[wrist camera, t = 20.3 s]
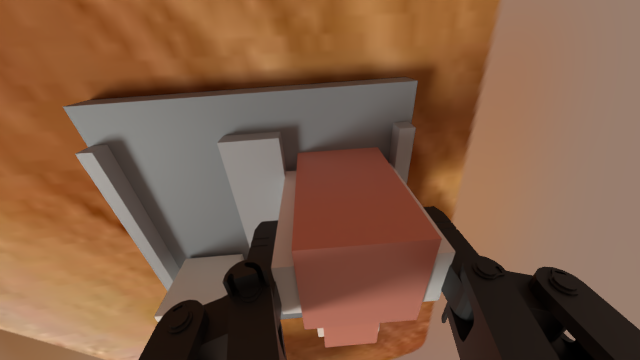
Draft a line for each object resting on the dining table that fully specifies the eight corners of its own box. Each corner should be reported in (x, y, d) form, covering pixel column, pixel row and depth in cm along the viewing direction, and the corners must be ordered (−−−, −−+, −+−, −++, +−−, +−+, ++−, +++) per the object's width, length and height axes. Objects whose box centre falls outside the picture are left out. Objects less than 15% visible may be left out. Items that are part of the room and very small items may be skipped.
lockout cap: (304, 215, 15) (304, 329, 9) (297, 152, 13) (291, 250, 7) (372, 210, 15) (416, 319, 9) (377, 147, 13) (441, 238, 7)
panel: (88, 100, 12) (3, 122, 9) (406, 77, 12) (444, 90, 9) (207, 310, 22) (190, 358, 19) (378, 294, 23) (391, 339, 19)
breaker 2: (312, 247, 16) (314, 316, 12) (367, 243, 16) (388, 309, 12) (316, 282, 18) (319, 351, 14) (365, 277, 18) (382, 345, 14)
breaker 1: (185, 258, 16) (154, 316, 13) (242, 254, 16) (225, 310, 13) (204, 292, 18) (180, 350, 15) (254, 288, 18) (242, 344, 15)
